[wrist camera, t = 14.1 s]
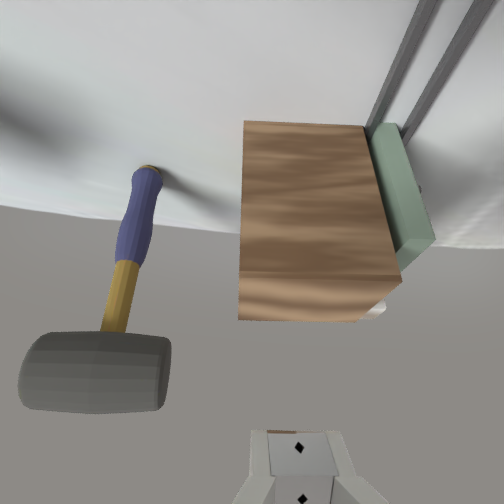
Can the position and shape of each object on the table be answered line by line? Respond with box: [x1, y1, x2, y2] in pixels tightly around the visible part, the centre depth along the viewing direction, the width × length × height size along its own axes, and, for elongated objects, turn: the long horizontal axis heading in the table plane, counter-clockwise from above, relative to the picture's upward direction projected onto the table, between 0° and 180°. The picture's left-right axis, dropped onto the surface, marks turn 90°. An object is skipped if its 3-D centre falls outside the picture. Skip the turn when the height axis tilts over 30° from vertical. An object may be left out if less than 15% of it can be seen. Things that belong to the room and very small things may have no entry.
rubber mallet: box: [18, 166, 171, 414], centre depth 36 cm, size 12×8×30 cm, turn 81°
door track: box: [364, 0, 494, 147], centre depth 35 cm, size 30×5×1 cm, turn 177°
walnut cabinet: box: [238, 121, 402, 322], centre depth 38 cm, size 16×18×20 cm
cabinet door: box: [368, 122, 436, 273], centre depth 39 cm, size 15×4×16 cm, turn 177°
